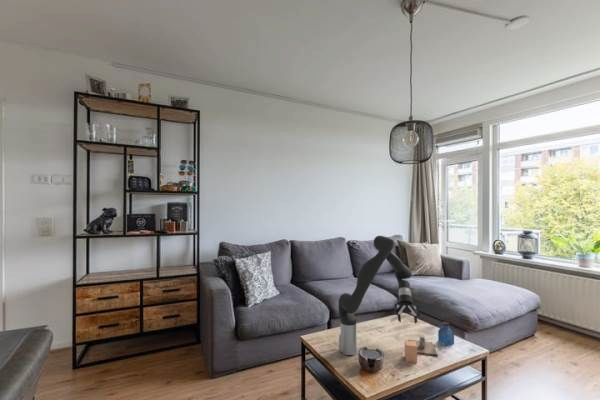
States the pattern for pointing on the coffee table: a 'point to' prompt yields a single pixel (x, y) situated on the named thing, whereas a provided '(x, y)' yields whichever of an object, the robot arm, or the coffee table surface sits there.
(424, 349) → the walnut post board
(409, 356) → the salmon orange block
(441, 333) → the perfume bottle
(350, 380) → the coffee table surface
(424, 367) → the coffee table surface
